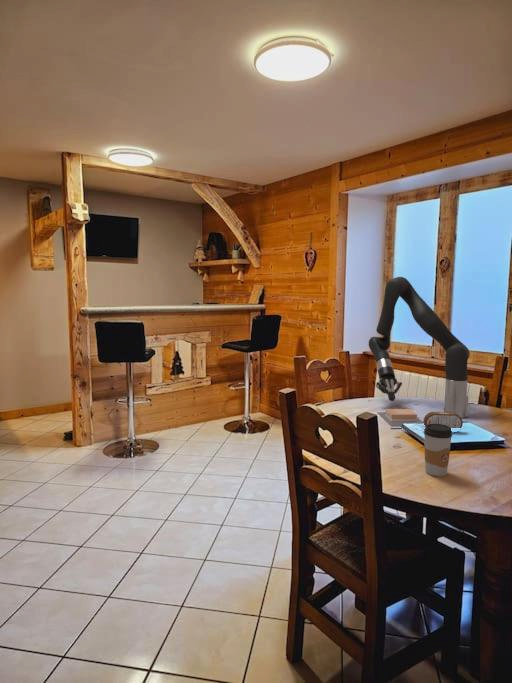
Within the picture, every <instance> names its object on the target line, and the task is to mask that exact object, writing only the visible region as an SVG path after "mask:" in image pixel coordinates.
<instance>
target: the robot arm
mask: <svg viewBox="0 0 512 683" xmlns="http://www.w3.org/2000/svg"><path fill="white" fill-rule="evenodd" d="M399 298H401V299H402V300H403V301H404V302H405V304H406V305H407V306H408V308H409V310H410V312H411V316H412V318H413V319H414V322H415V323H417V325H418V326H419V327H420V328H421V329H422V331H423V332H425V333H426V334H427V335H428V336H430V337H431V338H432V339H433V340H435V341H436V342H437V343H438V344H439V345H440V346H441V347H442V348H443V350H444V352H445V357H444V358H445V359H444V360H445V361H444V365H445V366H444V372H445V373H444V374H445V385H444V386H445V387H444V388H445V389H444V403H443V404H444V406H443V407H444V408H443V412H454V413H457V414H458V415H459V416H460V417H461V419H463V418H468V417H469V416H468V415H469V414H468V413H469V396H467V395H468V378H469V377H468V376H469V375H468V360H469V358H470V356H471V353H470V350H469V347H467V346H466V345H465V344H464V343H463V342H462V341H461V340H459V338H457V337H456V336H455V335H454V334H453V333H452V332H451V331H450V329H449V328H448V327H447V325H446V324H445V323H444V322H443V320H442V319H441V318H440V317H439V316H438V314H437V313H436V312H435V311H434V310H433V309H432V307H430V306H429V305H428V304H427V302H426V301H425V300H424V299H423V298H422V297H421V296H420V295H419V294H418V292H417V290H415V288H414V287H413V285H412V284H411V283H410V281H409V280H408V279H407V278H406V277H403V276H397V277H394V278H391V279H389V280H388V281H387V282H386V285H385V289H384V297H383V302H382V309H381V313H380V317H379V321H378V323H377V326H376V333H377V334H379V335H381V336H382V337H381V336H371V337H370V339H369V340H368V348H369V350H370V352H371V354H372V355H373V356H374V359H375V363H376V371H377V373H378V374H377V375H378V378H379V381H377V382H376V384H375V387H376V388H377V389H378V390H379V391H380V392H381V393H383V394H385V395H387V397H388V400H389V401H390V402H394V401H395V400H396V395H397V393H398V392H399V390H400V389H401V387H402V385H403V382H401V381H400V382H399V381H398V380H397V378H396V374H395V371H394V366H393V363H392V361H391V357H390V354H389V352H388V350H389V348H390V347H391V332H392V329H393V326H394V323H395V322H394V321H395V308H396V306H397V302H398V300H399ZM395 386H396V388H395ZM395 394H396V395H395Z"/></svg>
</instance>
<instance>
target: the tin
mask: <svg viewBox="0 0 512 683" xmlns="http://www.w3.org/2000/svg"><path fill="white" fill-rule="evenodd" d="M423 422H424V425H425V426H424V428H426V425H427V424H442V425H446V426H449V427H450V428H461V429H462V427H463V426H464V425H463V423H464V421H463V418H461V417H460V416H459V415H458V414H457V413H454V412H444V411H431V412H427V414H426V415H424V417H423Z"/></svg>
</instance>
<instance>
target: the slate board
mask: <svg viewBox="0 0 512 683" xmlns="http://www.w3.org/2000/svg"><path fill="white" fill-rule="evenodd" d="M385 412H386V411H385ZM385 412H382V411H381V412H380V411H376V413H377V414H378V415H379V416H380V418H382V419H383V421H385V423H387V425H389V426H390V430H403V429H402V428H404V427H403V426H402V424H403V423H424V420H422V419H420V418H419V417H418V416H417V421H391V420H390V419H389V418H388V417H386V416H385Z"/></svg>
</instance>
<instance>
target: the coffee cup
mask: <svg viewBox="0 0 512 683" xmlns="http://www.w3.org/2000/svg"><path fill="white" fill-rule="evenodd" d="M424 428H425V429H423V430H424V431H423V435H424V465H425V466H424V467H425V468H424V470H425V472H426V474H428V475H430V476H431V477H432V476H433V477H445V476H446V475H447V473H448V468H449V462H450V454H451V443H452V437H453V433H452V431H451V428H450V427H449V426H446V425H442V424H427V425H426V427H424Z"/></svg>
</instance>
